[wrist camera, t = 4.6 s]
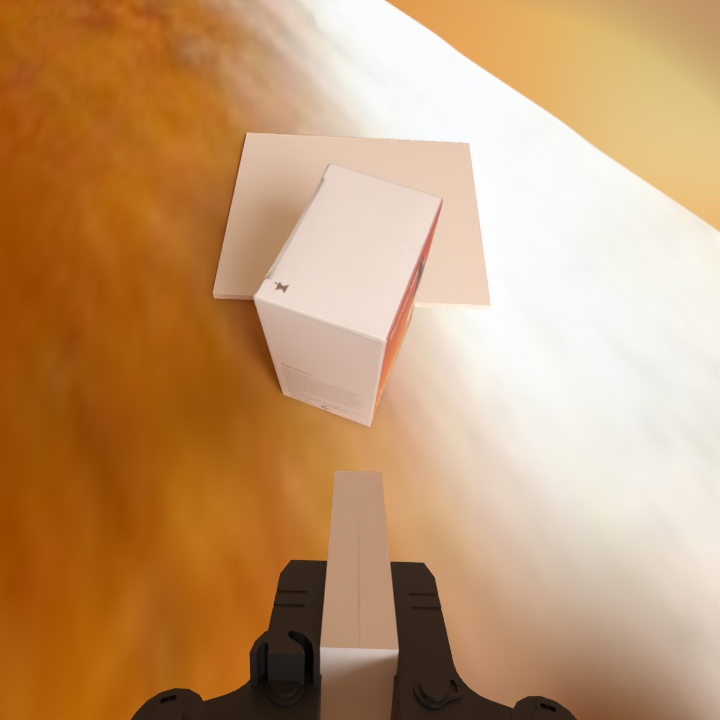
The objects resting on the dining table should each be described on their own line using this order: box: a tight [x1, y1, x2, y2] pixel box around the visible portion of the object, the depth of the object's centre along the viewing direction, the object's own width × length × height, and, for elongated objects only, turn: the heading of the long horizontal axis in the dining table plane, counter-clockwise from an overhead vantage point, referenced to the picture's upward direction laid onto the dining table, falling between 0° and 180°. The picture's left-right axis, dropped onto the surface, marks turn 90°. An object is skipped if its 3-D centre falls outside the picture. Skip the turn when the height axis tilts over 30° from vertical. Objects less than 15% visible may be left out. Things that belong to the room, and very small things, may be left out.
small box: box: [253, 163, 443, 427], centre depth 24 cm, size 8×6×10 cm
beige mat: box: [212, 132, 490, 310], centre depth 34 cm, size 16×18×1 cm
